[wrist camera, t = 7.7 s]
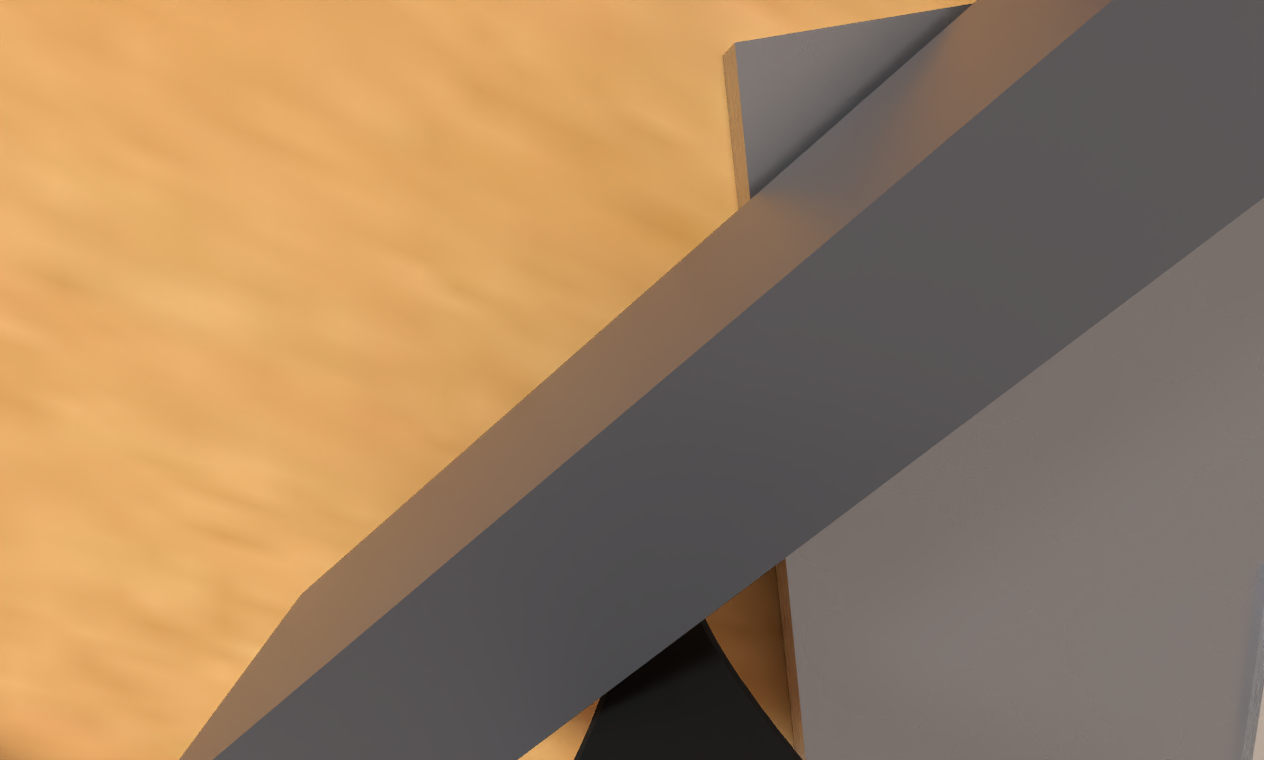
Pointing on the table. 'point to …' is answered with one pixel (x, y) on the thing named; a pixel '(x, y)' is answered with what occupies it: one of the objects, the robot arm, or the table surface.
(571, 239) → the table surface
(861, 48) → the plate
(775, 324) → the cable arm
